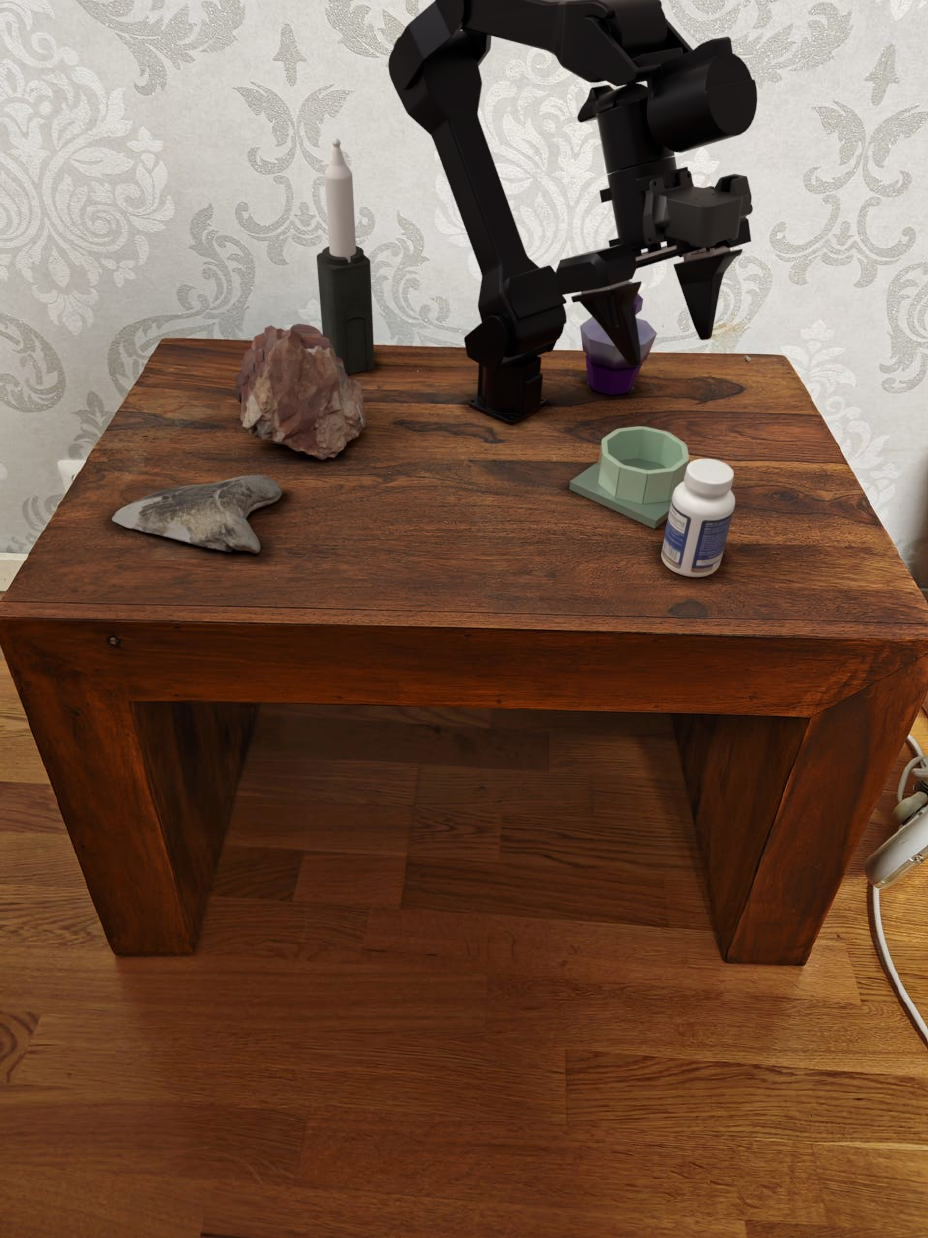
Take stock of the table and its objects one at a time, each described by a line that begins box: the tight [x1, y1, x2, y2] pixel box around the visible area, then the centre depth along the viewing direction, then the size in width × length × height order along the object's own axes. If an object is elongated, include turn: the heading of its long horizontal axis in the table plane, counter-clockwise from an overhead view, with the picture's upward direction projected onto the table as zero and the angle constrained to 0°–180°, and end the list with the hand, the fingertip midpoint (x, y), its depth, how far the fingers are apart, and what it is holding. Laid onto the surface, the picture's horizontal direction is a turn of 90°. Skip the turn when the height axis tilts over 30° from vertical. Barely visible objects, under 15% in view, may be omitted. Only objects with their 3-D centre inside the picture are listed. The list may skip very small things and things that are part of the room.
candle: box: [316, 137, 376, 376], centre depth 107 cm, size 5×5×25 cm
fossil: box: [111, 474, 283, 554], centre depth 90 cm, size 11×5×15 cm
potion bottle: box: [579, 281, 658, 398], centre depth 109 cm, size 9×9×12 cm
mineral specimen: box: [235, 323, 367, 461], centre depth 100 cm, size 12×13×15 cm
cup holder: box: [568, 425, 690, 530], centre depth 96 cm, size 10×10×4 cm
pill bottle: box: [660, 458, 736, 578], centre depth 85 cm, size 5×5×10 cm
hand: (671, 352), depth 87 cm, fingers open, 9 cm apart
